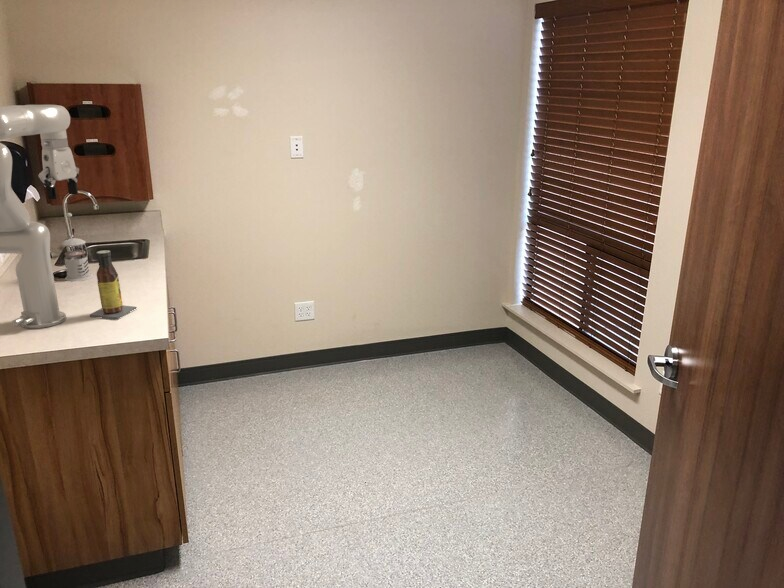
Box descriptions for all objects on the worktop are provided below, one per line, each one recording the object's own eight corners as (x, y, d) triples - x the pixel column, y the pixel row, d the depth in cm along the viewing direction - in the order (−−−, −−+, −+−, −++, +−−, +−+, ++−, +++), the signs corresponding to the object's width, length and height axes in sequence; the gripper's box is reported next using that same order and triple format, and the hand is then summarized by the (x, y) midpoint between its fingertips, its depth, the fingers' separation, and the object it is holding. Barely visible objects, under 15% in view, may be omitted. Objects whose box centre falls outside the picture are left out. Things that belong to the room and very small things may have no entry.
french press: (59, 281, 223) (47, 215, 215) (76, 271, 234) (66, 209, 226) (84, 281, 223) (74, 216, 215) (100, 272, 234) (91, 209, 226)
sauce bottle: (126, 311, 194) (118, 252, 187) (107, 315, 189) (98, 255, 183) (117, 305, 198) (109, 248, 191) (98, 310, 193) (89, 251, 187)
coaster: (117, 319, 189) (117, 317, 188) (89, 316, 190) (89, 314, 190) (136, 309, 198) (136, 306, 197) (110, 306, 200) (109, 303, 199)
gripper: (45, 147, 186) (54, 201, 192) (83, 142, 202) (90, 193, 208) (24, 146, 187) (34, 200, 193) (64, 141, 203) (71, 191, 209)
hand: (63, 196), depth 200 cm, fingers open, 9 cm apart
